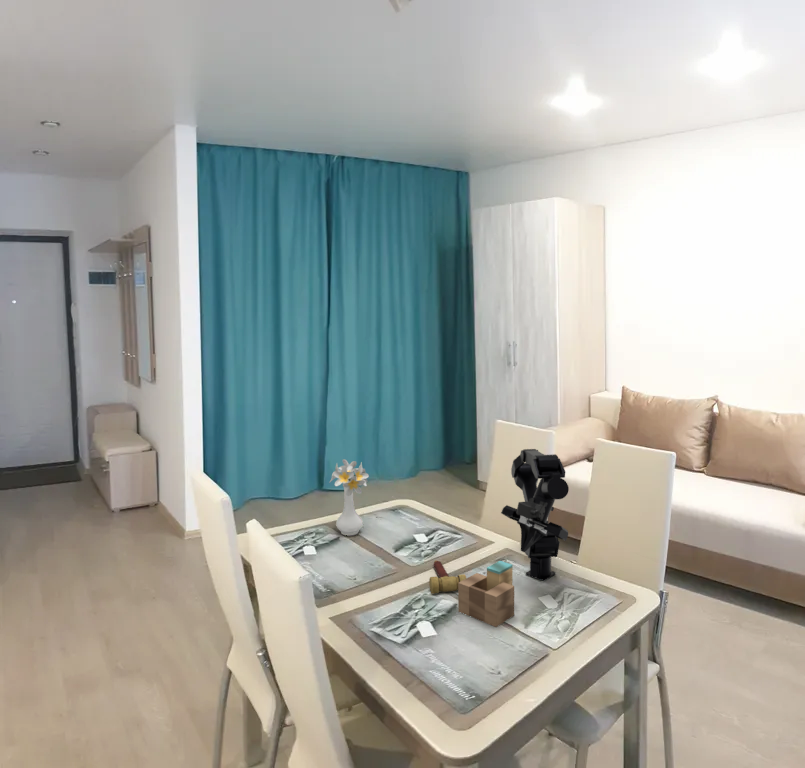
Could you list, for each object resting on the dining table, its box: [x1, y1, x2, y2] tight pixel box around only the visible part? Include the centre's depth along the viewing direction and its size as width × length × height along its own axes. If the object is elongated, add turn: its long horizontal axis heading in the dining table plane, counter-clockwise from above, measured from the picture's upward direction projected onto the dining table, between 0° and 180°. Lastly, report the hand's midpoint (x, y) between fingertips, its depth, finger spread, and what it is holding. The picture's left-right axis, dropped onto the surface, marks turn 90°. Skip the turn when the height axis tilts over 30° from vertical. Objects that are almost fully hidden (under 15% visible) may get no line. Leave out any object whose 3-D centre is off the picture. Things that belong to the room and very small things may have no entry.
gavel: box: [428, 560, 467, 595], centre depth 194 cm, size 21×5×10 cm
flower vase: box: [328, 459, 370, 537], centre depth 229 cm, size 13×18×25 cm
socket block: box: [457, 572, 515, 628], centre depth 173 cm, size 8×12×8 cm, turn 46°
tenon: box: [486, 560, 514, 591], centre depth 177 cm, size 6×4×11 cm, turn 136°
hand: (522, 551), depth 182 cm, fingers closed
